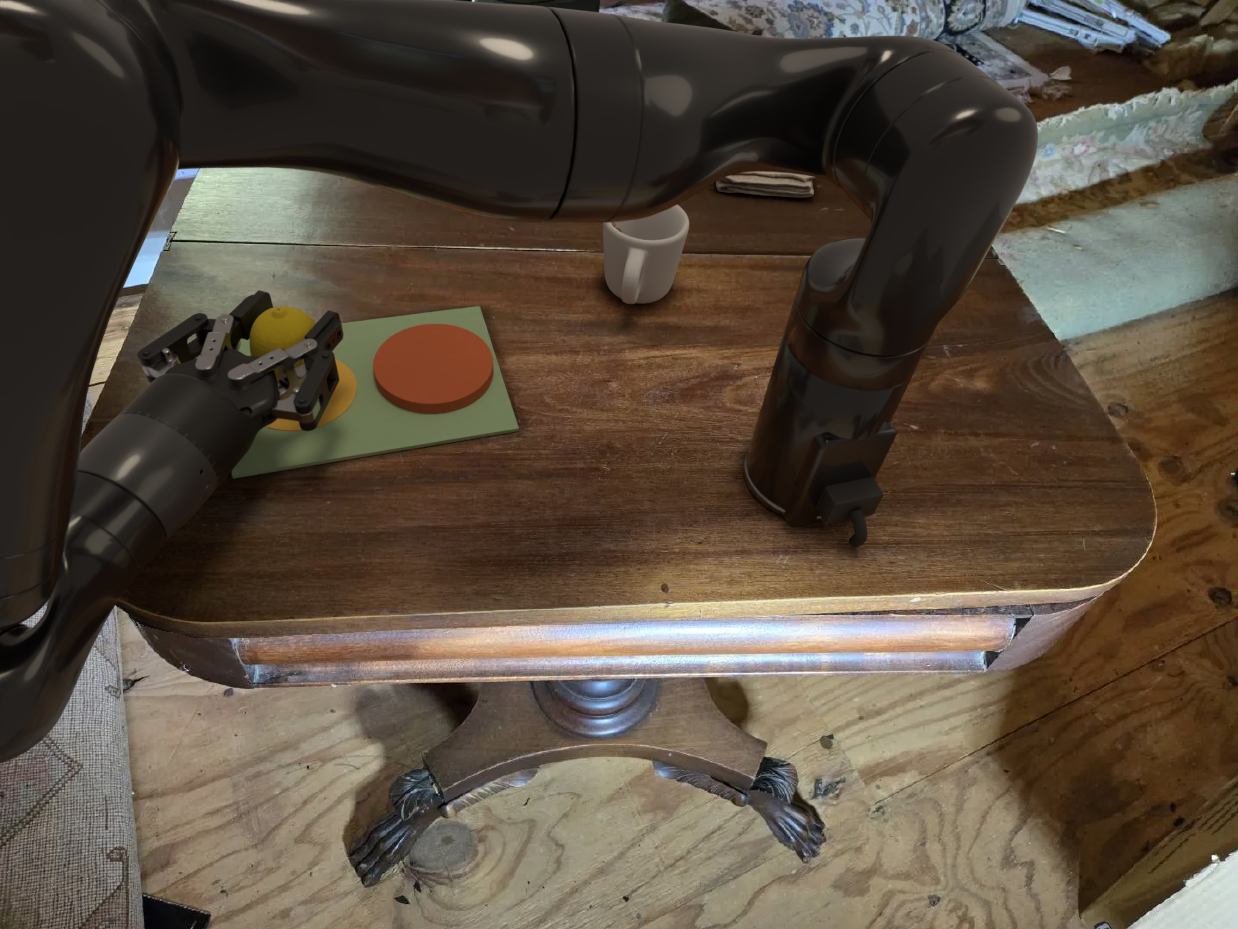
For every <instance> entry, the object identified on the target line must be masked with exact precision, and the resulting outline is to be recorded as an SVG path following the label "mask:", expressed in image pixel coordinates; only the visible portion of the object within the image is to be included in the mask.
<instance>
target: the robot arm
mask: <svg viewBox="0 0 1238 929" xmlns="http://www.w3.org/2000/svg"><path fill="white" fill-rule="evenodd" d="M1038 144H1039V129H1038V124H1037V121H1036V118H1035V115H1034V114H1033V112H1032V111H1031V109H1030V108H1029V107H1028V106H1027V105H1026V104H1025V103H1024V102H1023V101H1022V100H1021V99H1020V98H1018V97H1017V96H1016V95H1014V94H1013V92H1011V91H1009V90H1008V89H1007V88H1006V87H1004V86H1003V85H1001V83H999V82H997V81H996V80H995V79H994V78H993V77H992V76H990V75H988V74H987V72H985V71H983V70H982V69H981V68H979V67H978V66H977V65H975V63H973V62H971V61H970V60H969V59H967V58H966V57H965V56H963V55H962V54H960V53H959V52H957V51H956V50H955V49H953V48H951V46H948V45H946V44H944V43H942V42H940V41H937V40H935V39H931V38H927V37H921V36H914V35H865V36H840V37H839V36H837V37H834V36H833V37H776V36H775V37H774V36H764V35H758V34H757V35H756V34H750V33H744V32H739V31H733V30H727V29H721V28H716V27H715V28H714V27H707V26H698V25H690V24H683V23H682V24H681V23H675V22H674V23H672V22H663V21H656V20H649V19H643V18H637V17H631V16H626V15H620V14H614V13H607V12H599V11H588V10H582V9H581V10H579V9H572V8H571V9H570V8H561V7H553V6H543V5H530V4H515V3H513V4H512V3H497V2H495V3H494V2H482V1H481V2H479V1H468V0H0V764H4V763H6V762H9V761H12V760H13V759H15V758H17V757H19V756H21V755H23V754H25V753H27V752H28V751H29V750H31V749H32V748H34V747H36V746H37V745H38V744H39V743H40V742H41V741H43V739H45V738H46V737H47V736H48V735H49V734H50V732H51V731H52V730H53V728H55V726H56V725H57V723H58V721H59V720H60V718H61V717H62V715H63V713H64V711H65V709H66V707H67V705H69V704H68V703H69V701H70V700H71V698H72V695H73V693H74V690H75V688H76V686H77V683H78V681H79V680H80V677H81V674H82V671H83V669H84V666H85V664H86V662H87V659H88V657H89V655H90V653H91V651H92V649H93V648H94V647H93V646H94V645H95V642H96V640H97V639H98V637H99V635H100V633H101V631H102V629H103V627H104V625H105V624H106V622H107V620H108V618H109V617H110V615H111V613H112V612H113V610H114V608H115V606H116V605H117V603H118V601H119V600H120V598H121V597H122V595H123V594H124V593H125V591H126V590H127V589H128V587H129V586H130V585H131V584H132V582H133V581H134V580H135V579H136V578H137V576H138V575H139V574H140V573H141V571H142V570H143V569H144V568H145V566H146V565H148V563H149V562H150V561H151V560H152V558H153V557H154V556H155V555H156V554H157V552H158V551H159V550H160V549H161V548H162V546H164V544H166V542H167V541H168V540H170V539H171V537H172V536H174V534H176V533H177V532H178V531H179V530H180V529H181V528H183V526H185V525H186V524H187V523H188V522H189V521H190V520H191V519H192V518H193V517H194V516H195V514H196V513H197V512H198V511H199V510H200V509H201V508H202V506H203V505H204V503H206V501H207V500H209V498H210V497H211V496H212V494H214V492H215V491H216V490H217V489H218V488H219V486H220V485H221V484H222V483H223V482H224V481H225V479H226V478H227V477H228V476H229V475H230V473H232V470H233V468H234V467H235V466H236V465H237V464H238V463H239V461H240V460H241V459H242V458H243V457H244V455H245V454H246V453H247V452H248V451H249V449H250V447H251V445H252V443H253V441H254V439H255V437H256V435H257V433H258V432H259V431H260V430H261V429H262V428H264V427H265V426H267V425H269V424H271V423H273V422H275V421H276V420H277V419H278V418H279V419H286V420H293V421H299V425H300V428H301V429H302V430H304V431H311V430H314V429H315V428H316V427H317V425H318V423H319V421H320V419H321V417H322V415H323V413H324V411H325V409H326V407H327V405H328V403H329V401H330V399H331V397H332V395H333V393H334V391H335V388H336V386H337V384H338V382H339V375H338V370H337V365H336V360H335V356H334V353H333V352H332V351H333V350H334V349H335V348H336V346H337V345H338V344H339V343H340V342H341V340H342V339H343V335H344V334H343V329H342V324H341V323H342V320H341V317H340V313H339V312H336V311H333V310H326V312H324V314H323V315H322V316H321V317H320V318H319V320H318V321H317V322H315V323H316V324H315V325H314V326H313V328H312V329H311V330H310V331H309V332H308V333H307V334H306V335H305V336H304V337H305V340H303V341H301V342H299V343H297V344H295V345H293V346H292V347H290V348H288V349H286V350H283V349H281V348H277V349H275V350H273V351H271V352H269V353H267V354H266V355H264V356H262V357H256V356H247V355H244V354H243V353H241V352H239V349H240V346H241V341H240V340H241V339H245V340H248V339H249V338H250V332H251V328H252V325H253V323H254V321H255V320H256V319H257V318H258V316H259V315H261V314H262V313H263V312H265V311H266V310H268V309H270V308H273V307H274V305H273V302H272V297H271V293H270V292H267V291H265V290H264V291H263V290H260V289H259V290H257V291H255V293H254V294H250V295H248V296H247V297H245V298H244V299H243V300H242V301H241V302H240V303H239V304H238V305H237V306H235V308H234V309H233V310H232V311H231V312H229V313H228V314H221V315H219V316H218V317H216V318H209V317H208V315H207V314H206V313H202V312H196V313H194V314H193V315H190V317H189V316H188V318H186V319H184V320H183V321H181V322H180V323H179V324H176V326H174V327H173V328H171V329H170V330H168V331H167V332H165V333H164V334H163V335H161V336H159V337H158V338H156V339H154V340H153V341H152V342H150V343H148V345H145V346H144V347H143V348H141V349H140V350H138V351H137V354H136V356H137V358H138V360H139V364H140V366H141V368H142V371H143V373H144V375H145V376H146V379H147V381H148V383H149V384H148V385H147V386H146V387H145V388H144V389H143V390H142V391H141V392H140V393H139V394H138V395H137V396H136V397H135V398H134V399H133V400H132V401H130V402H129V403H128V404H127V405H126V406H125V408H123V409H122V410H121V411H120V413H118V414H117V415H116V416H115V417H114V418H113V419H112V420H111V421H110V422H109V423H108V424H106V426H105V427H104V428H103V429H102V430H101V431H100V432H99V433H97V435H95V436H94V437H93V438H92V439H91V440H90V441H89V442H88V444H86V446H85V447H84V448H83V449H82V450H81V448H82V435H83V424H84V416H85V410H86V404H87V398H88V393H89V389H90V384H91V380H92V377H93V373H94V368H95V365H96V362H97V358H98V355H99V351H100V349H101V345H102V342H103V340H104V337H105V334H106V331H107V329H108V326H109V322H110V320H111V317H112V315H113V312H114V310H115V308H116V306H117V303H118V300H119V299H120V296H121V294H122V293H123V292H122V291H123V290H124V287H125V285H126V282H127V280H128V279H129V276H130V274H131V272H132V269H133V267H134V265H135V262H136V261H137V258H138V256H139V254H140V251H141V249H142V247H143V246H144V243H145V241H146V239H147V237H148V235H149V232H150V230H151V228H152V226H153V224H154V221H155V220H156V218H157V215H158V212H159V211H160V209H161V206H162V204H163V202H164V200H165V198H166V196H167V194H168V193H169V191H170V189H171V187H172V186H173V183H174V181H175V179H176V176H177V173H178V170H179V171H180V170H199V169H263V168H264V169H267V168H269V169H286V170H299V171H307V172H315V173H320V174H326V175H331V176H335V177H341V178H344V179H349V180H353V181H356V182H360V183H363V184H367V185H370V186H373V187H376V188H380V189H383V190H386V191H390V192H392V193H396V194H399V195H403V196H405V197H409V198H413V199H416V200H419V201H422V202H426V203H429V204H432V205H437V206H440V207H444V208H448V209H451V210H455V211H460V212H463V213H466V214H471V215H476V216H480V217H484V218H489V219H495V220H501V221H509V222H520V223H601V224H603V223H610V222H625V221H632V220H638V219H642V218H646V217H650V216H652V215H655V214H658V213H660V212H663V211H665V210H668V209H670V208H672V207H674V206H675V205H679V204H682V203H683V202H685V201H687V200H689V199H690V198H692V197H693V196H695V195H697V194H698V193H700V192H702V191H703V190H705V189H707V188H708V187H710V186H711V185H713V184H716V181H718V180H720V179H722V178H724V177H727V176H730V175H733V174H737V173H743V172H759V171H761V172H781V173H792V174H800V175H807V176H813V177H815V178H819V179H821V180H825V181H828V182H829V183H831V184H833V185H835V186H836V187H837V188H840V189H841V190H842V191H843V193H845V194H846V196H848V198H849V199H850V200H851V201H852V203H854V204H855V205H856V206H857V208H858V209H860V211H861V212H862V213H863V214H864V215H865V216H866V217H867V218H868V219H869V220H870V225H869V229H868V232H867V234H866V236H865V237H850V238H849V237H848V238H843V239H842V238H841V239H837V240H834V241H830V242H829V243H826V244H824V245H822V246H821V247H819V248H817V249H816V251H814V253H812V254H811V256H810V257H809V258H808V260H807V261H806V263H805V266H804V268H803V271H802V274H801V276H800V280H799V283H798V286H797V290H796V292H795V296H794V298H793V302H792V306H791V309H790V312H789V315H788V319H787V322H786V325H785V327H784V331H783V334H782V338H781V341H780V344H779V348H778V351H777V355H776V358H775V361H774V363H773V367H772V370H771V374H770V377H769V381H768V385H767V387H766V391H765V394H764V397H763V400H762V404H761V406H760V409H759V413H758V417H757V420H756V423H755V427H754V430H753V434H752V437H751V441H750V444H749V446H748V448H747V450H746V453H745V456H744V459H743V465H742V470H743V472H742V473H743V478H744V480H745V483H746V485H747V487H748V488H749V490H750V492H751V493H752V495H753V496H754V497H755V498H756V499H757V500H758V501H759V502H760V503H761V504H762V505H764V507H766V508H768V509H769V510H770V511H773V512H774V513H775V514H779V515H780V516H782V517H783V519H784V520H785V521H786V523H787V525H788V526H789V527H792V528H795V527H799V526H803V525H809V524H815V523H817V522H818V523H819V522H823V523H824V525H826V526H827V525H832V524H837V523H842V522H847V521H851V525H852V528H853V535H851V536H850V537H849V538H848V539H847V540H848V541H847V542H848V543H847V544H848V545H849V546H850V548H852V549H858V548H860V547H862V546H863V544H865V543H866V542H867V541H868V527H867V522H866V519H865V517H869V516H873V515H875V513H876V510H878V508H879V505H880V503H881V501H882V499H883V497H884V495H885V493H884V492H883V490H882V489H881V487H880V486H879V484H878V483H877V481H876V478H877V476H878V474H879V472H880V471H881V468H882V465H883V464H884V461H885V459H886V457H887V456H888V453H889V452H890V450H891V448H892V445H893V443H894V442H895V440H896V438H897V435H898V431H897V428H896V426H894V424H893V422H892V420H893V419H894V416H895V414H896V412H897V410H898V407H899V406H900V403H901V401H902V399H903V397H904V395H905V393H906V391H907V389H908V387H909V385H910V382H911V380H912V378H913V376H914V374H915V372H916V370H917V368H918V366H919V364H920V362H921V359H922V357H923V355H924V354H925V352H926V349H927V347H928V346H929V344H930V341H931V339H932V337H933V334H934V333H935V330H936V329H937V327H938V325H939V323H941V320H943V319H944V317H945V316H947V314H948V313H949V312H950V310H952V309H953V307H954V306H955V305H956V304H957V303H958V302H959V300H961V298H962V297H963V295H964V294H965V293H966V291H967V290H968V288H969V287H970V285H971V284H972V282H973V280H974V278H975V276H976V275H977V272H978V271H979V269H980V267H981V265H982V263H983V262H984V260H985V258H986V256H987V254H988V253H989V252H990V249H991V247H992V246H993V244H994V242H995V240H996V239H997V237H998V236H999V233H1000V232H1001V230H1002V229H1003V227H1004V226H1005V224H1006V221H1007V220H1008V218H1009V216H1010V215H1011V213H1012V211H1013V209H1014V208H1015V206H1016V204H1017V202H1018V200H1019V198H1020V196H1021V194H1022V193H1023V190H1024V188H1025V186H1026V184H1027V181H1028V179H1029V177H1030V175H1031V171H1032V170H1033V169H1032V168H1033V166H1034V163H1035V160H1036V155H1037V150H1038ZM194 335H195V338H194V339H192V340H191V341H189V342H188V340H189V339H190V338H191V337H193V336H194ZM302 359H303V360H304V363H302V364H300V365H298V366H296V367H295V364H296V363H297V362H299V361H300V360H302ZM276 368H277V369H278V372H279V376H280V378H279V380H278V382H277V378H276V375H275V372H274V369H276ZM303 381H304V382H303ZM301 382H303V383H302V385H301V387H300V388H299V386H300V384H301ZM290 394H291V395H290ZM288 395H290V396H289V397H288V398H287V399H284V400H281V399H283V398H285V397H286V396H288ZM45 605H46V607H45V611H44V613H43V615H42V616H41V617H40V619H39V620H38V621H37V623H36V624H34V625H33V626H32V627H31V626H28V625H26V624H25V623H23V622H25V621H27V620H29V619H30V618H32V617H33V616H34V615H36V614H37V613H38V612H39V611H40V610H41V609H43V608H44V606H45Z"/></svg>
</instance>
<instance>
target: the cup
mask: <svg viewBox="0 0 1238 929" xmlns="http://www.w3.org/2000/svg"><path fill="white" fill-rule="evenodd" d="M689 230H690V219H689V216H688V215H687V213H686V211H685V209H683V208H682V207H681V206H680V205H679V204H677V205H675V206H674V207H672V208H670V209H668V210H665V211H663V212H660V213H658V214H655V215H652V216H650V217H646V218H642V219H638V220H632V221H625V222H610V223H602V240H603V243H602V244H603V272H604V279H605V283H606V285H607V287H608V289H609V290H610V291H611V293H612V294H614V295H615V297H618V298H619V299H621V301H622V302H623V303H625V304H628V305H635V304H651V303H654V302H657V301H659V300H661V299H662V298H664V297H665V296H666V295H667V294H668V293H669V291H670V290H671V288H672V286H673V283H674V280H675V279H676V274H677V271H678V268H679V264H680V261H681V257H682V254H683V250H684V247H685V243H686V240H687V236H688V235H689Z"/></svg>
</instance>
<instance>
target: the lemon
mask: <svg viewBox="0 0 1238 929" xmlns="http://www.w3.org/2000/svg"><path fill="white" fill-rule="evenodd" d="M316 323H317V322H315V320H314V319H313V318H312V317H311V316H310V315H309V314H308V313H307V312H305V311H303V310H301V309H299V308H297V307H294V306H288V305H279V306H273V308H270V309H268V310H266V311H265V312H263V313H262V314H261V315H259V316H258V318H257V319H256V320H255V321H254V323H253V325H252V328H251V332H250V353H251V356H256V357H262V356H264V355H266V354H267V353H269V352H271V351H273V350H275V349H277V348H281V349H283V350H286V349H288V348H290V347H292V346H293V345H295V344H297V343H299V342H301V341H303V340H305V337H304V336H305V335H306V334H307V333H308V332H309V331H310V330H311V329H312V328H313V326H314V325H315V324H316ZM302 363H304V360H303V359H302V360H300V361H299V362H297V363H296V364H295V367H296V366H298V365H300V364H302ZM274 372H275V375H276V378H277V382H278V380H279V378H280V376H279V372H278V369H277V368H276V369H274ZM303 382H304V381H303ZM303 382H301V384H300V386H299V388H300V387H301V385H302V383H303Z"/></svg>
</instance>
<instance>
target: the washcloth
mask: <svg viewBox="0 0 1238 929" xmlns="http://www.w3.org/2000/svg"><path fill="white" fill-rule="evenodd" d="M814 179H816V177H813V176H807V175H800V174H792V173H781V172H761V171H759V172H743V173H737V174H733V175H730V176H727V177H724V178H722V179H720V180H718V181H716V182H715V186H716V190H717V191H718V192H720V193H726V194H735V193H737V194H738V193H739V194H747V195H755V196H756V195H757V196H768V197H784V198H785V197H787V198H803V199H804V198H811V197H813V196H814V195H815V193H814V192H815V190H814V182H813V181H814Z"/></svg>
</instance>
